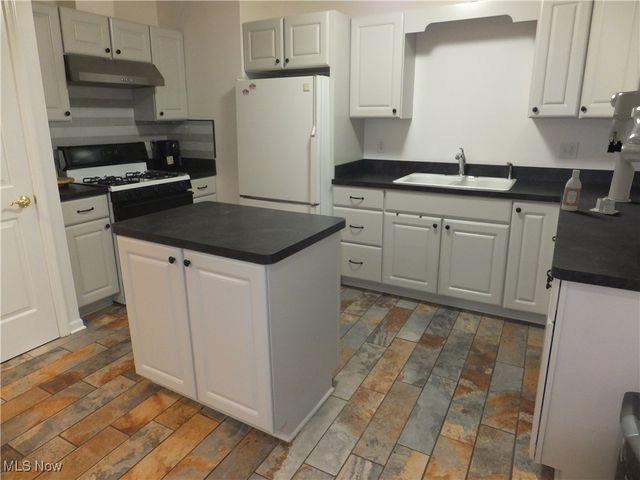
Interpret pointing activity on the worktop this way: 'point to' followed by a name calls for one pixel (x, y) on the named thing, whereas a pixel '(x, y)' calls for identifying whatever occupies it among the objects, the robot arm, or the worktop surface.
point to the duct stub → (600, 211)
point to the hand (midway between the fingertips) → (614, 152)
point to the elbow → (605, 206)
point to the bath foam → (572, 192)
